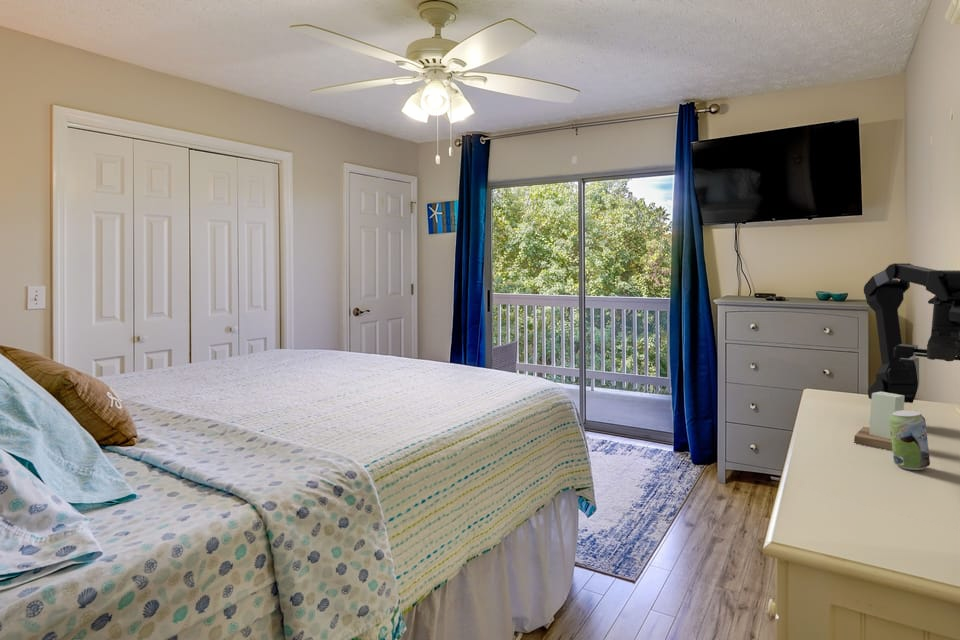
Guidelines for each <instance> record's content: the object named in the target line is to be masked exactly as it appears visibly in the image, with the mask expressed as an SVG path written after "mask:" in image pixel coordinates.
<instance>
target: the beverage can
mask: <svg viewBox="0 0 960 640" xmlns="http://www.w3.org/2000/svg"><path fill="white" fill-rule="evenodd" d="M889 423H890V432H891V441H892V450H893V451H892V457H893V463H894V464H895V465H896V466H899V468H901V469H904V470H911V471H913V470H914V471H919V470H924V469H926V468H927V467H929V466H930V465H931V460H930V451H929V443H928V433H927V432H928V431H927V424H926V423H927V422H926V419H925V417H924V416H923V415H922V413H921V411H918V410H913V409H904V410H897V411H893V412H892V415H891V416H890V418H889Z"/></svg>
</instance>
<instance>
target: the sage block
mask: <svg viewBox="0 0 960 640" xmlns="http://www.w3.org/2000/svg"><path fill="white" fill-rule="evenodd" d="M904 398H905V396H904V395H898V394H892V393H887V392H876V393H872V398H871V399H870V400H871V402H870V416H869V428H870V429H869V434H870V435H874V436H878V437H882V438H887V439H891V432H890V423H889V418H890V416H891V415H892V412H893V411H897V410H905V409H904V407H905V402H904Z"/></svg>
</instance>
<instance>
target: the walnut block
mask: <svg viewBox="0 0 960 640" xmlns="http://www.w3.org/2000/svg"><path fill="white" fill-rule="evenodd" d="M869 429H870V427H867V426H862V428H860V429H859V430H858V431H857V433H856V434H855V435H854V439H853V440H854V442H853V444H854V443H856V444H855V445H858V444H861V445H860V446H864V445H865V446H864V447H869V446H870V448H876V449H879V448H881V449H880V450H884V449H886V451H889V450H891V451H890V452H893V450H892V441H891V439H887V438H882V437H878V436H874V435H870V434H869Z"/></svg>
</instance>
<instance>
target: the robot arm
mask: <svg viewBox="0 0 960 640" xmlns="http://www.w3.org/2000/svg"><path fill="white" fill-rule="evenodd" d="M910 283H911V284H916V285H918V286H919V285H920V286H923V287H925V290H926V291H928V292H929V293H931V294H933V295H934V296H933V297H932V298H929V300H928V301H927V303H928V304H929V305H933V309H932V320H931V331H930V337H929V338H928V340H927V344H926V348H919V345H917V344H905V343H903V338H902V331H901V324H900V317H899V308H900V306H901V304H902V303H903V301H904V300H905V298H904V294H905V293H906V292H907V291H908V289H910V288H911V284H910ZM863 295H864V297H865V300H866V304H867V305H868V306H869V307H870V309H872V311H874V313H875V320H876V326H877V327H876V328H877V336H878V344H879V352H880V361H881V366H880V367H879V368H878V370H877V372H876V373H875V382H874V383H873V384H872V385H871V386H870V387H869V388H868V389H867V395H868V399H870V400H871V398H872V393H876V392H887V393H892V394H898V395H904V396H905V398H904V404H905V403H907V404H908V403H909V404H913V403H914V401H915V399H916V398H915V397H916V395H917V392H918V390H919V387H920V386H919V385H920V358H919V357H921V358H926V359H928V360H933V361H935V360H939V361H940V360H941V361H945V362H954V361H960V269H959V270H956V269H955V270H951V269H950V270H948V269H947V270H942V269H941V270H937V269H933V268H929V267H923V266H920V265H919V266H918V265H914V264H911V263H901V262H900V263H892V264H888V266H887V267H886V268H885V269H884V270H882V271H880V272H878V273H876V274H874V275H873V276H871V277H870V278H869V280H867V282H865V284H864V286H863Z"/></svg>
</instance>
